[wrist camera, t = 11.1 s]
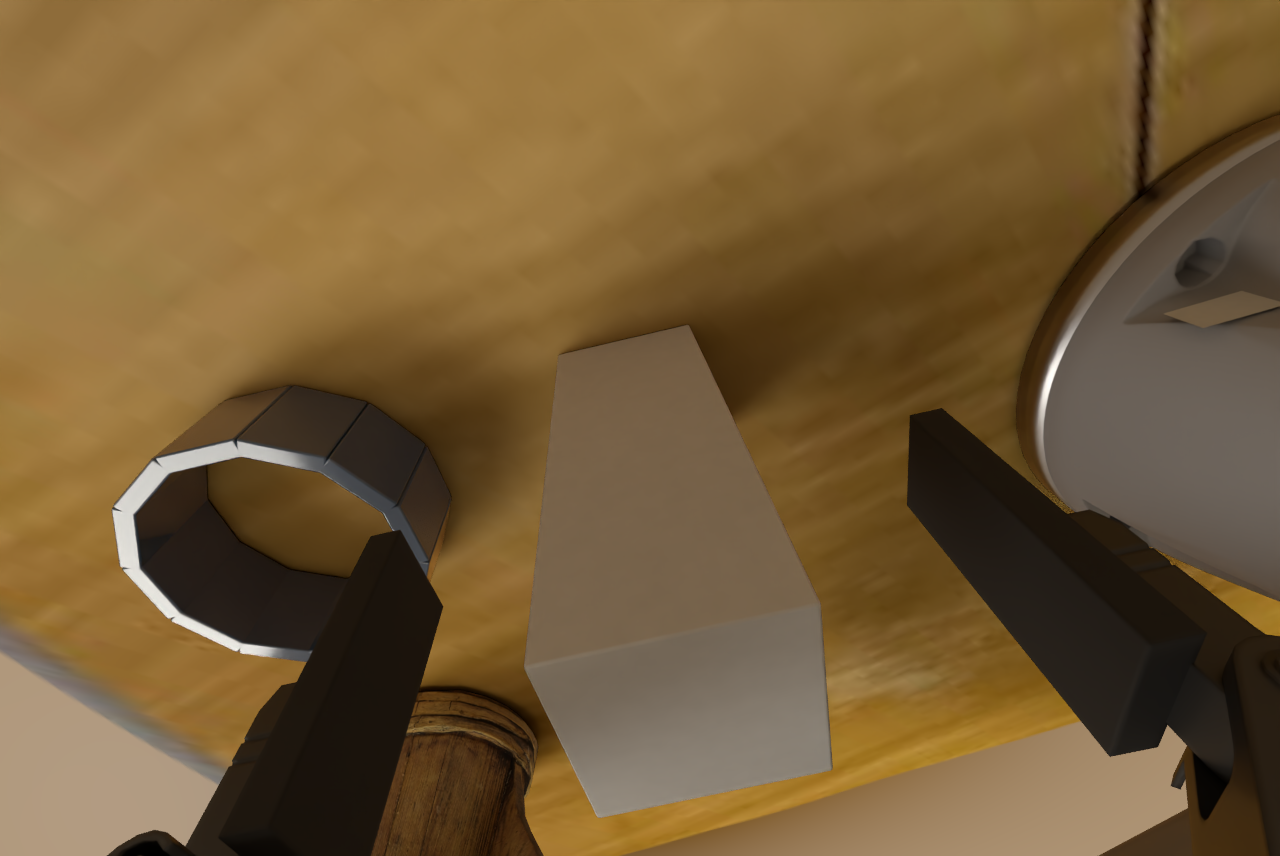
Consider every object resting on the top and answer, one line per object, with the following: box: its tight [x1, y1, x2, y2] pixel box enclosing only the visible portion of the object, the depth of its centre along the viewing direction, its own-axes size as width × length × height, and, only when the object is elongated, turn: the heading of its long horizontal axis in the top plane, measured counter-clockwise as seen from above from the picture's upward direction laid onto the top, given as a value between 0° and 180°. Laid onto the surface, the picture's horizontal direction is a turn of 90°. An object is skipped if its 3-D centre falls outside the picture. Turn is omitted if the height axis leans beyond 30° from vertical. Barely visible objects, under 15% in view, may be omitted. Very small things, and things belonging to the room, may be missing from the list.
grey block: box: [524, 325, 833, 818], centre depth 14 cm, size 4×4×12 cm
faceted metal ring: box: [112, 385, 452, 662], centre depth 19 cm, size 9×9×4 cm
